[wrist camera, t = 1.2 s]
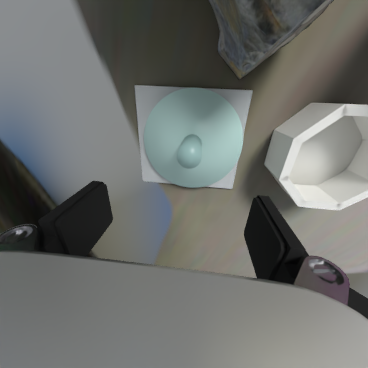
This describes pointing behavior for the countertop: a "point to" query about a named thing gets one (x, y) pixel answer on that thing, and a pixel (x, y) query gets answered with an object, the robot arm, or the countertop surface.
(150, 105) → the mat
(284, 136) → the bowl
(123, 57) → the countertop surface
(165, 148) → the lid
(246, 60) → the fossil rock
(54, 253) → the robot arm
